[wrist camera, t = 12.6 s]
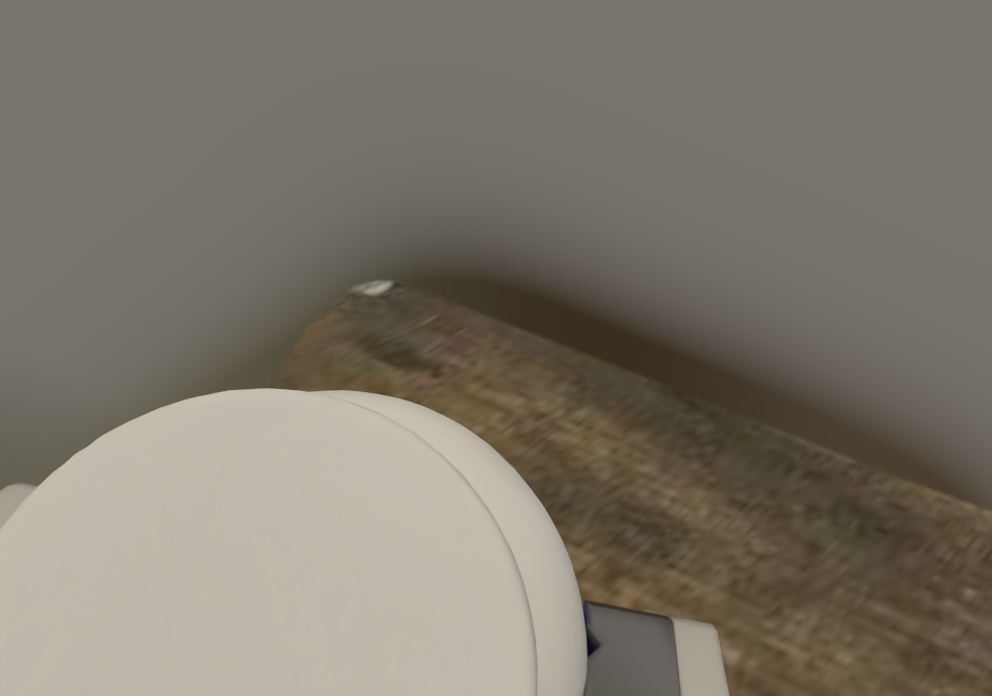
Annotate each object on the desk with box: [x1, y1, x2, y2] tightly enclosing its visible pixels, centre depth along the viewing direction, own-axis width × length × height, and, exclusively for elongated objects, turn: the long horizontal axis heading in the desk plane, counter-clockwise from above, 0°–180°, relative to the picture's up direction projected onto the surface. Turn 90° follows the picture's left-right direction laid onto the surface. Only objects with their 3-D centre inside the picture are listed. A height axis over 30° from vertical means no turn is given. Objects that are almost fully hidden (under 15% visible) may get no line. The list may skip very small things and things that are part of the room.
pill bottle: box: [0, 389, 587, 696], centre depth 9 cm, size 5×5×10 cm
